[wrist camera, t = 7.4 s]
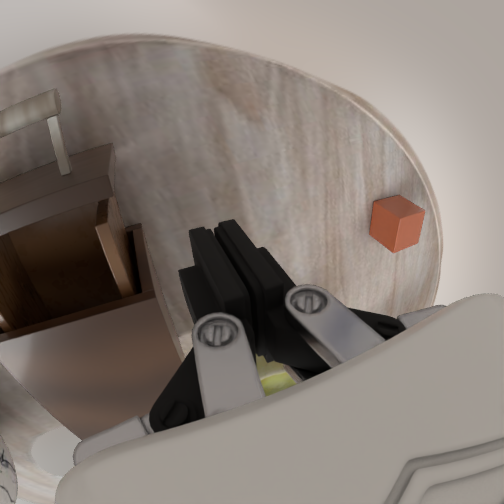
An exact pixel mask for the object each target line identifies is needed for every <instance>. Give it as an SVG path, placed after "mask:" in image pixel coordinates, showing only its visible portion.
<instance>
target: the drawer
mask: <svg viewBox="0 0 504 504" xmlns="http://www.w3.org/2000/svg"><path fill="white" fill-rule="evenodd" d="M60 113H61V99H60V95H59V92H58V90H57V89H52V90H49V91H47V92H44V93H42V94H39V95H37V96H34V97H32V98H29V99H27V100H24V101H22V102H20V103H17V104H15V105H13V106H11V107H9V108H6V109H4V110H2V111H0V138H2V137H4V136H6V135H8V134H11V133H13V132H15V131H17V130H20V129H22V128H24V127H27V126H29V125H32V124H34V123H37V122H39V121H42V120H44V119H47V122H48V127H49V131H50V135H51V139H52V143H53V147H54V151H55V155H56V159H57V161H55V162H52V163H49V164H47V165H44V166H41V167H39V168H36V169H34V170H31V171H29V172H26V173H24V174H21V175H19V176H17V177H14V178H12V179H9V180H7V181H5V182H3V183H0V327H1V328H2V330H3V331H4V332H5V333H6V332H10V331H13V330H17V329H20V328H24V327H27V326H31V325H34V324H38V323H41V322H45V321H48V320H51V319H55V318H58V317H62V316H65V315H69V314H72V313H76V312H79V311H82V310H86V309H89V308H93V307H96V306H99V305H103V304H106V303H110V302H113V301H116V300H120V299H123V298H127V297H130V296H133V295H137V294H140V293H142V289H141V284H140V278H139V271H138V267H137V264H136V261H135V258H134V255H133V252H132V249H131V246H130V243H129V240H128V236H127V233H126V230H125V227H124V224H123V220H122V217H121V214H120V210H119V207H118V203H117V200H116V196H115V192H114V179H115V162H116V156H115V152H114V147H113V144H112V143H110V144H107V145H103V146H100V147H97V148H94V149H90V150H87V151H84V152H81V153H78V154H75V155H72V156H69V157H68V153H67V150H66V146H65V142H64V137H63V133H62V129H61V124H60V120H59V115H58V114H60Z"/></svg>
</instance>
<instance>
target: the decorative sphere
mask: <svg viewBox="0 0 504 504" xmlns="http://www.w3.org/2000/svg"><path fill="white" fill-rule="evenodd" d="M17 491H18V485H17V476H16V471H15V466H14V463H13V459H12V457H11V454H10V452H9V449H8V447H7V446H6V444H5V442H4V440H3V438H2V437H1V435H0V504H15V503H16V499H17Z"/></svg>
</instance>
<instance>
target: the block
mask: <svg viewBox="0 0 504 504" xmlns="http://www.w3.org/2000/svg"><path fill="white" fill-rule="evenodd" d="M424 215H425V210H424V209H422V208H420V207H419V206H417V205H415V204H414V203H412V202H410V201H409V200H407V199H405V198H404V197H402V196H400V195H397V196H393V197H389V198H385V199H381V200H377V201H374V202H373V210H372V218H371V225H370V232H369V235H370V236H372V237H373V238H374V239H376V240H377V241H378V242H380V243H381V244H382V245H383V246H385V247H386V248H387V249H388V250H390V251H391V252H392V253H396V252H398V251H400V250H403V249H405V248H408V247H410V246H412V245H415V244H417V243H418V241H419V237H420V233H421V228H422V224H423V219H424Z"/></svg>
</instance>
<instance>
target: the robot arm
mask: <svg viewBox="0 0 504 504" xmlns="http://www.w3.org/2000/svg"><path fill="white" fill-rule="evenodd" d="M214 234H215V235H214ZM214 234H213V232H212V230H211V229H207V230H206V229H205V227H199V228H195V229H191V230H189V237H190V242H191V247H192V253H193V258H194V263H195V266H192V267H188V268H184V269H181V270H178V272H179V276H180V281H181V285H182V289H183V292H184V296H185V299H186V302H187V306H188V309H189V311H190V314H191V317H192V320H193V322H194V327H193V329H192V341H193V348H192V349H191V351H190V352H189V354H188V355H187V357H186V358H185V359H184V361H183V362H182V364H181V365H180V367H179V368H178V370H177V371H176V373H175V374H174V375H173V377H172V378H171V380H170V381H169V383H168V384H167V386H166V387H165V389H164V390H163V391H162V393H161V394H160V396H159V397H158V399H157V400H156V402H155V403H154V404H153V406H152V408H151V410H150V413H148V414H146V415H144V416H142V417H139V416H138V415H136V416H134V417H132V418H130V419H128V420H126V421H124V422H122V423H119V424H117V425H115V426H113V427H111V428H109V429H106V430H104V431H102V432H100V433H97V434H95V435H93V436H91V437H88V438H86V439H84V440H82V441H81V442H80V443H78V445H77V446H76V448H75V449H74V454H73V460H74V465H75V466H74V467H73V468H72V469H71V470H70V471H69V472H68V473H67V474H65V476H64V477H63V478H62V479H61V481H60V482H59V484H58V487H57V490H56V494H55V504H504V297H502V296H501V295H498V294H478V295H473V296H470V297H466V298H463V299H461V300H458V301H456V302H454V303H452V304H450V305H448V306H444V305H436V306H432V307H429V308H425V309H422V310H418V311H414V312H410V313H407V314H403V315H399V316H398V317H397V319H395V318H393V317H390V316H386V315H381V314H376V313H371V312H366V311H361V310H357V309H352V308H347V307H346V306H345V305H343V304H342V303H341V302H340V301H339V300H337V299H336V298H335V297H334V296H333V295H331V294H330V293H329V292H328V291H327V290H325V289H323V288H322V287H319V286H316V285H310V284H305V285H299V286H296V285H295V284H294V282H293V281H292V280H291V279H290V277H289V276H288V275H287V274H286V273H285V271H284V270H283V269H282V268H281V266H280V265H279V264H278V263H277V262H276V260H275V259H274V258H273V257H272V255H271V254H270V253H269V252H268V251H267V249H266V248H264V247H261V248H256V247H255V245H254V244H253V243H252V242H251V240H250V239H249V238H248V236H247V235H246V234H245V233H244V231H243V230H242V229H241V227H240V226H239V225H238V224H237V222H236V221H235V220H234V219H232V220H227V221H223V222H219V224H218V227H215V228H214ZM256 354H257V356H258V357H260V356H264V358H265V360H266V362H267V363H269V362H272V361H275V362H278V363H282V364H283V367H284V369H285V371H286V372H287V373H288V375H289V376H290V377H291V378H292V379H293V380H294V381H295V383H296V385H294V386H291V387H289V388H286V389H284V390H281V391H279V392H277V393H274V394H272V395H269V396H266V395H265V392H264V389H263V386H262V383H261V380H260V377H259V374H258V371H257V364H256Z"/></svg>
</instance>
